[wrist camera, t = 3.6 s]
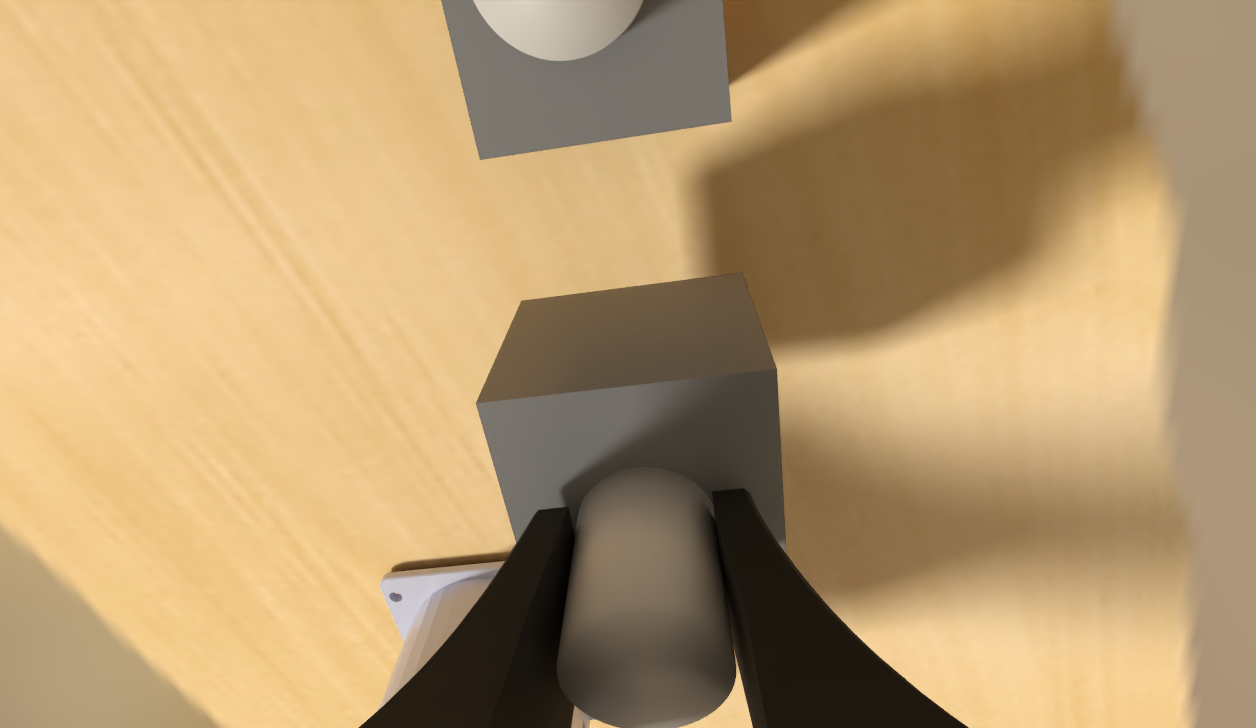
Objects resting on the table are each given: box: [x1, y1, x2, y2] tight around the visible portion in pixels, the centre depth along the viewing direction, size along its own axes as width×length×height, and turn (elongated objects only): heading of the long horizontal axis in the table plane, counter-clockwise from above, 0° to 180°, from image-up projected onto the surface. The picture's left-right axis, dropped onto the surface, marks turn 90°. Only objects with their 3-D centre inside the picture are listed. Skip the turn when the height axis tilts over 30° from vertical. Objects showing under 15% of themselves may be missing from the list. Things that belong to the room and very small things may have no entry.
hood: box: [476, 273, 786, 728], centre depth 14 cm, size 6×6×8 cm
